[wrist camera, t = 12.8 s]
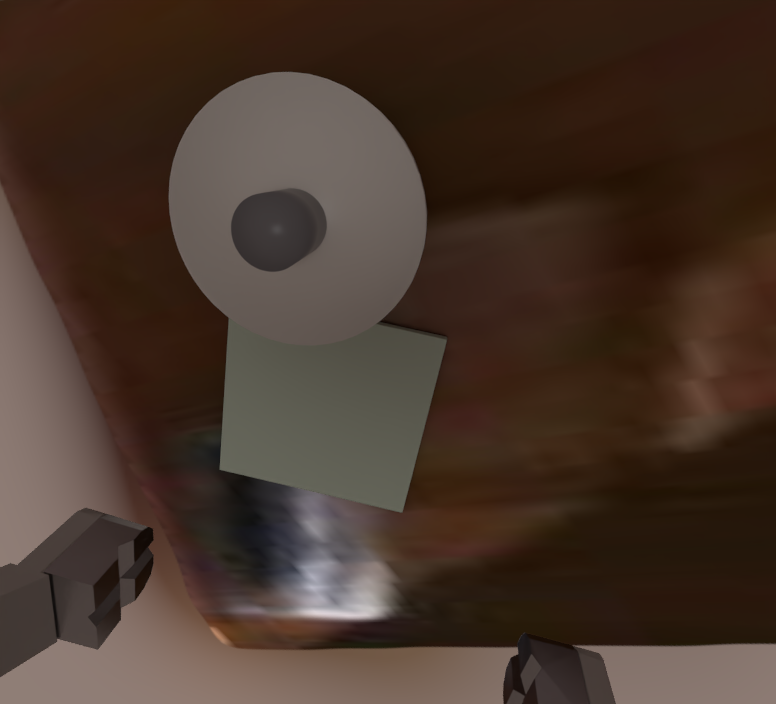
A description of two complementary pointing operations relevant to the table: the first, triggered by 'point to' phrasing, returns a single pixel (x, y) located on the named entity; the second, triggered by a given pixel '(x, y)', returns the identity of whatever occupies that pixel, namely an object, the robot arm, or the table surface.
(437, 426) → the table surface
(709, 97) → the table surface
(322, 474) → the mat
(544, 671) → the robot arm
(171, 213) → the lid
